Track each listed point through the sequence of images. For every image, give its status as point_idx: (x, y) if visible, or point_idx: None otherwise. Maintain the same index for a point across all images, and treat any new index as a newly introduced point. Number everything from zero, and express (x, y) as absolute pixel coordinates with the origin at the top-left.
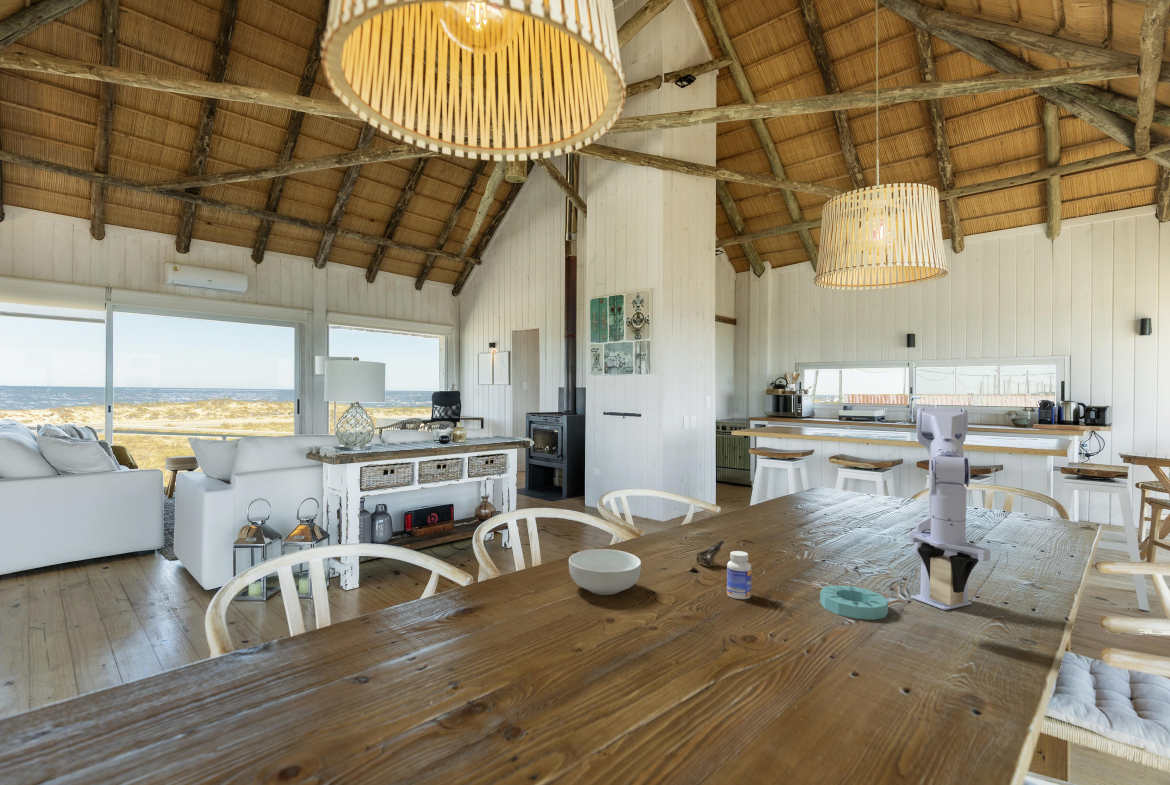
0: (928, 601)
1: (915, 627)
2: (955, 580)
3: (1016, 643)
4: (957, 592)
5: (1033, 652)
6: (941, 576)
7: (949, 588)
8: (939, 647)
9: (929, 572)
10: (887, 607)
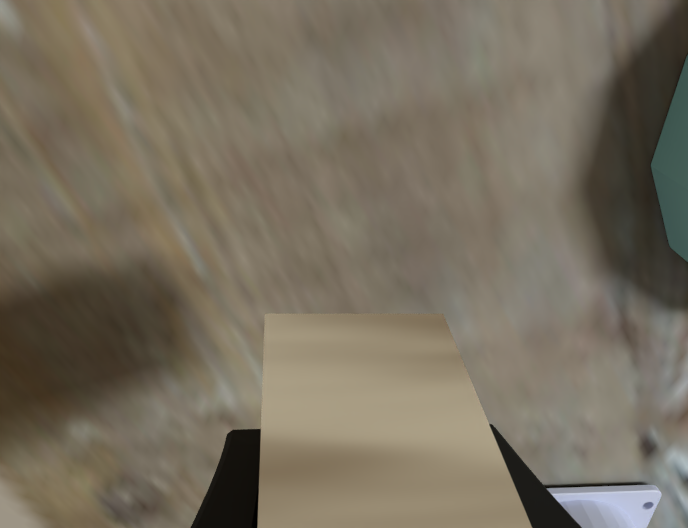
0: (579, 500)
1: (475, 195)
2: (219, 522)
3: (131, 450)
4: (227, 436)
5: (35, 430)
6: (374, 498)
7: (271, 416)
8: (235, 48)
9: (537, 507)
10: (686, 240)
